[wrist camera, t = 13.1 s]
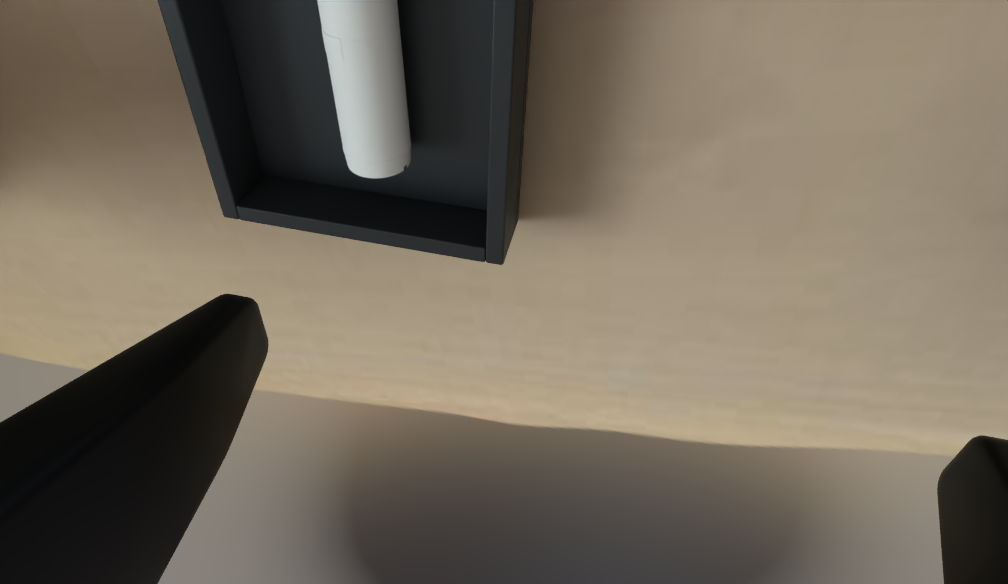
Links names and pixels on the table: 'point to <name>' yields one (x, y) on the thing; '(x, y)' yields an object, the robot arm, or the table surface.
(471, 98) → the pen tray
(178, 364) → the robot arm
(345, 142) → the white model rocket
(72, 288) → the table surface
